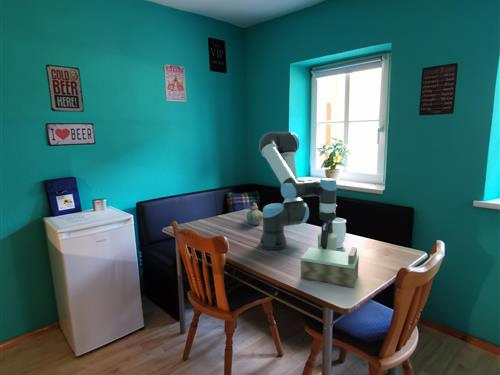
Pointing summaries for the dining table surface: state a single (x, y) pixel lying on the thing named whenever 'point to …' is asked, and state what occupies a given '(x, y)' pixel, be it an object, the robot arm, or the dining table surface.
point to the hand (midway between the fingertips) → (326, 255)
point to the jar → (339, 231)
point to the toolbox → (329, 274)
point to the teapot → (254, 215)
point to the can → (329, 241)
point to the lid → (331, 257)
